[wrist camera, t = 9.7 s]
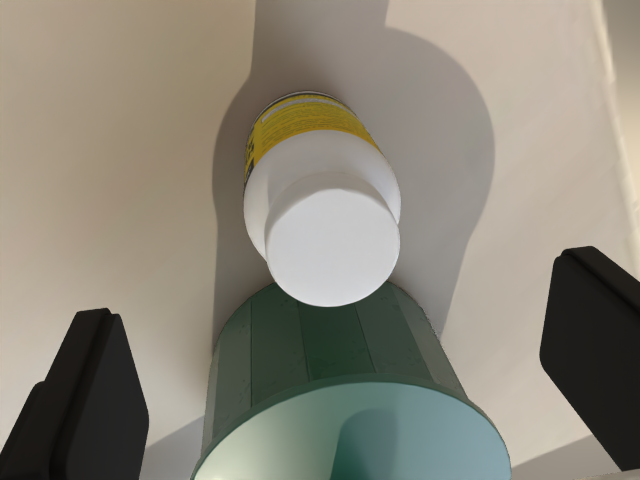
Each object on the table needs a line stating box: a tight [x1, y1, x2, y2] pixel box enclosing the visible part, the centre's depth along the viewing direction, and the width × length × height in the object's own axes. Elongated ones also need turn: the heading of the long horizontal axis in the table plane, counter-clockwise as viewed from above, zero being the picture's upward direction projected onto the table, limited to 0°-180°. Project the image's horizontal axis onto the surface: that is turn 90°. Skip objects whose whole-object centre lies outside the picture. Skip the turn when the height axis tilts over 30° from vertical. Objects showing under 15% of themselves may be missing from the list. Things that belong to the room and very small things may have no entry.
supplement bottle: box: [243, 91, 401, 307], centre depth 20 cm, size 5×5×10 cm
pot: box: [201, 281, 468, 456], centre depth 26 cm, size 12×12×8 cm
